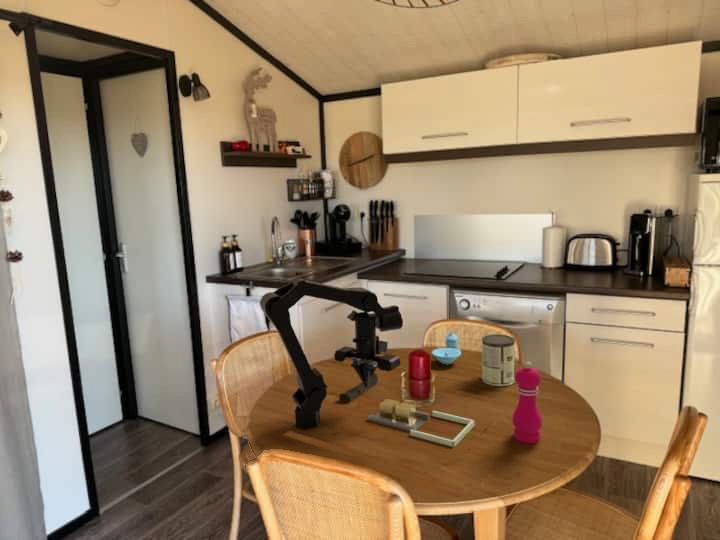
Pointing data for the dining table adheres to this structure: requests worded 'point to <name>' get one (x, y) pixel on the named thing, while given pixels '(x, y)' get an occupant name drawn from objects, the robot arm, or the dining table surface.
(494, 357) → the coffee can
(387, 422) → the slot rail
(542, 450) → the dining table surface
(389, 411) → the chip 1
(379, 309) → the robot arm
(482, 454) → the dining table surface
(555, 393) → the dining table surface
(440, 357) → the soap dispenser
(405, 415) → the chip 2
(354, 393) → the wooden stick
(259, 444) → the dining table surface
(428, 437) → the tray
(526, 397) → the pepper mill
